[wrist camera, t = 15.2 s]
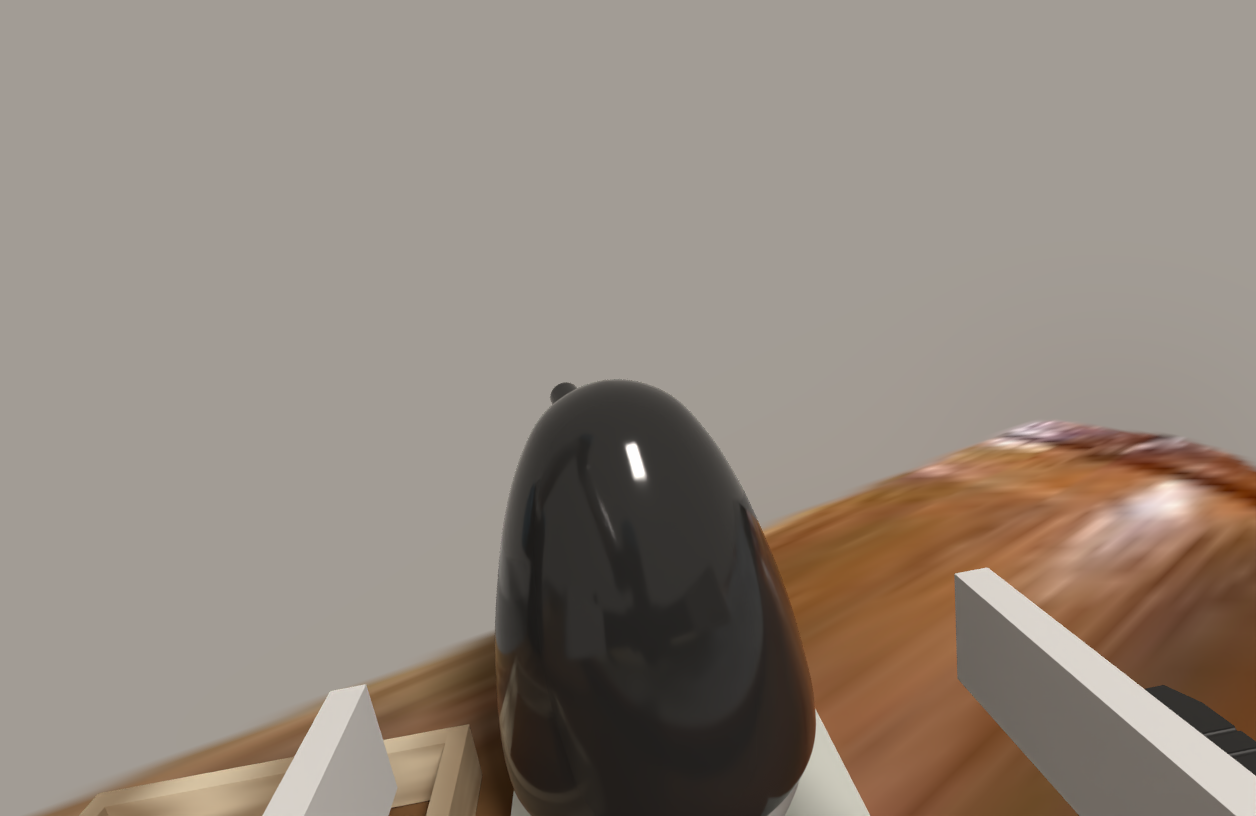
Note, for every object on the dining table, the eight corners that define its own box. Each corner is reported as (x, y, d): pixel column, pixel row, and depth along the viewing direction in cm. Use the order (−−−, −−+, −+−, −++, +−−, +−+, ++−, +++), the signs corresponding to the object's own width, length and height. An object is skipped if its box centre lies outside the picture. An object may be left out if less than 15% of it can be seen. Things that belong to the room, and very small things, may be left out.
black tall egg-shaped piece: (726, 666, 29) (681, 333, 25) (896, 858, 19) (865, 366, 16) (503, 756, 26) (413, 391, 22) (574, 1038, 16) (436, 478, 12)
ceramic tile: (493, 1058, 17) (485, 1031, 17) (527, 728, 29) (523, 709, 28) (935, 967, 17) (934, 940, 17) (791, 678, 29) (789, 659, 29)
